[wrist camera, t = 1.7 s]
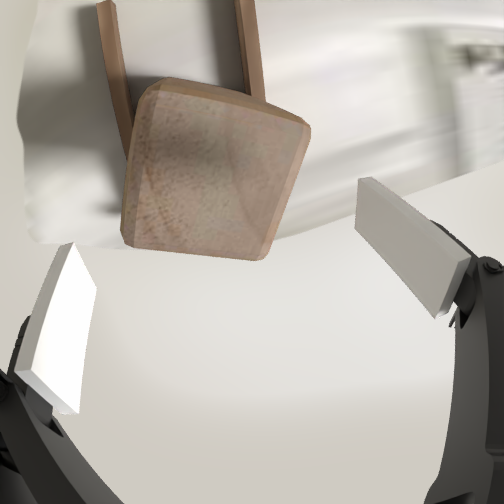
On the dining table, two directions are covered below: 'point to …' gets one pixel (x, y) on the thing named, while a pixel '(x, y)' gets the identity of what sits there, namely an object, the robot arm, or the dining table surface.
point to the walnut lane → (118, 74)
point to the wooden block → (209, 170)
